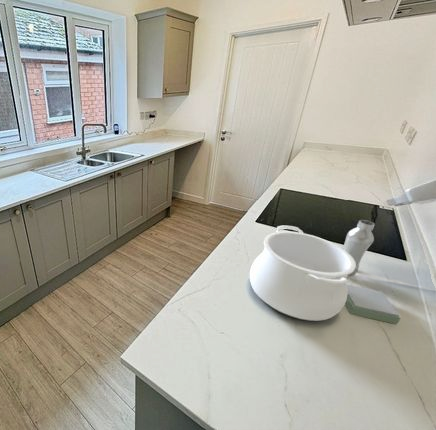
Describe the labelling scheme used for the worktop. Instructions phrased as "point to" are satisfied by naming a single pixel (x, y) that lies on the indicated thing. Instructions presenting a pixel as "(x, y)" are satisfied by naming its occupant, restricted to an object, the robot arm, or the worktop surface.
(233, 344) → the worktop surface
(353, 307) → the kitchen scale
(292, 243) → the pot
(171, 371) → the worktop surface
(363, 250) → the plastic bottle
